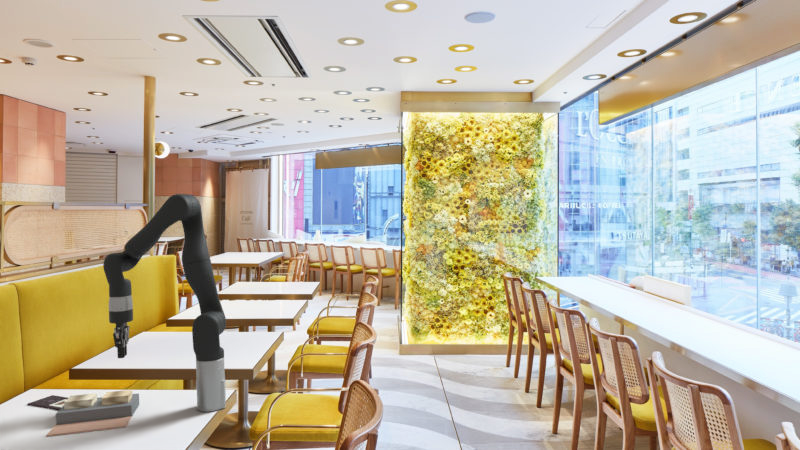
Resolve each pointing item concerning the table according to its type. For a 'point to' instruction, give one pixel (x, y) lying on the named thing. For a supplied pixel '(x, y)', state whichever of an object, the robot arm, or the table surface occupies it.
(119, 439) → the table surface
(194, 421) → the table surface
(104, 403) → the oak tile
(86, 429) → the rubber mat
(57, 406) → the chocolate bar
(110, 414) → the slate board
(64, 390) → the table surface
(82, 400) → the birch tile
